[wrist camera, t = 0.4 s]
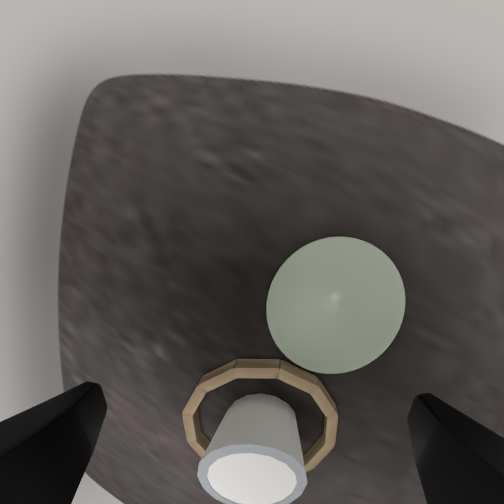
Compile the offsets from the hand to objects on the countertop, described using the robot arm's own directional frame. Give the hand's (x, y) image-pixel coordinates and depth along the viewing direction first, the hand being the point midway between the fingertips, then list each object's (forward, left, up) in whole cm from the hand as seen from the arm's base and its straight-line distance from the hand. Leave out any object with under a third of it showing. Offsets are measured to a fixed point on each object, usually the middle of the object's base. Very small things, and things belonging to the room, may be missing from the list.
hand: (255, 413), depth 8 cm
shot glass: (-10, -4, -14) cm, 18 cm away
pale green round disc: (+1, -4, -14) cm, 14 cm away
